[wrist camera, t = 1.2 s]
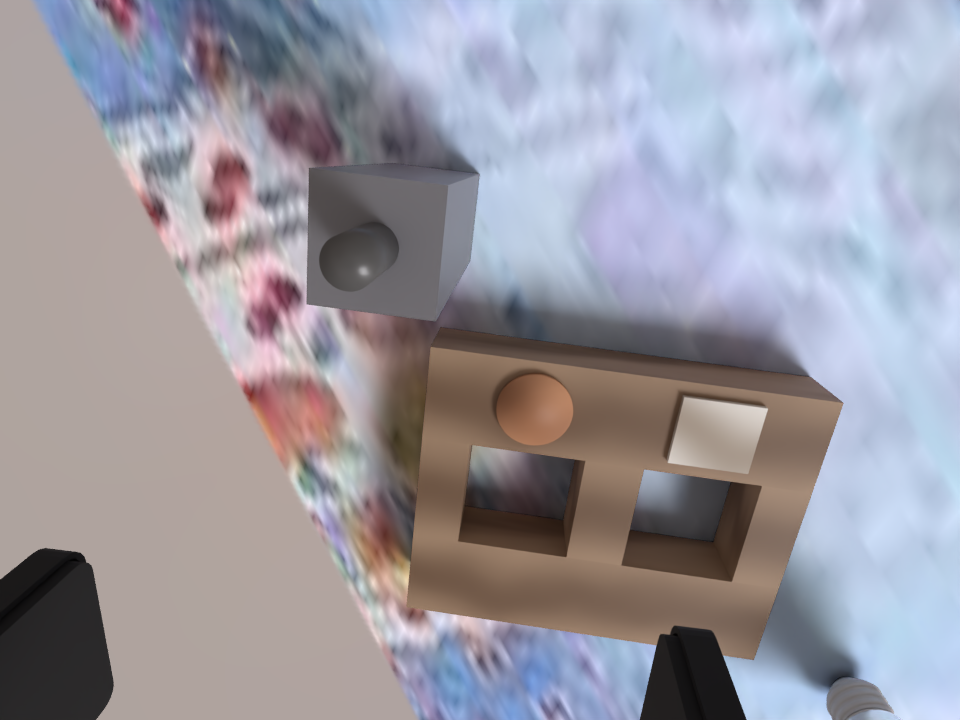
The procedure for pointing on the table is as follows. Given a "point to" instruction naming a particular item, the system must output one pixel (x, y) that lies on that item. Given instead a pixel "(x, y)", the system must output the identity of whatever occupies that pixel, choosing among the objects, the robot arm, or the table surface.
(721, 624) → the socket block
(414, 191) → the plug
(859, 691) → the light bulb
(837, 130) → the table surface
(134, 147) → the table surface
